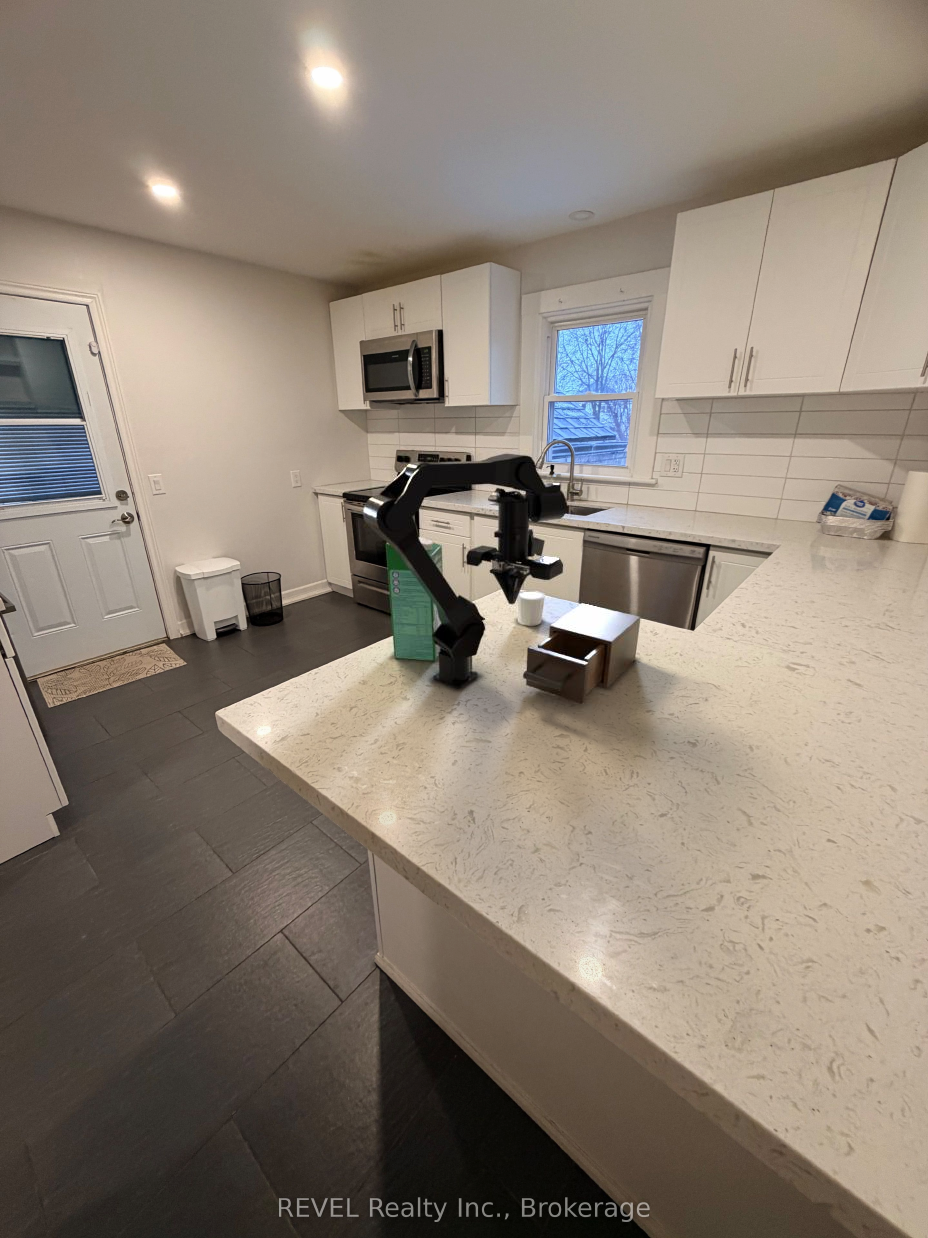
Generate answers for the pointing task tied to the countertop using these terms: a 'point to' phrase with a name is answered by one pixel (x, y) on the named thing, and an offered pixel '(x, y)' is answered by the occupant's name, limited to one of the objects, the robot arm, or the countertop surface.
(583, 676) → the drawer
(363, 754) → the countertop surface
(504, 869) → the countertop surface
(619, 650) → the cabinet
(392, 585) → the milk carton
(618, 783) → the countertop surface
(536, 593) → the white cup
